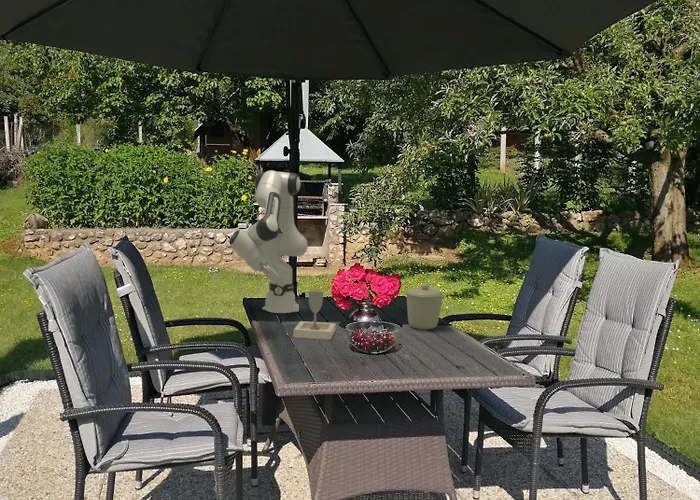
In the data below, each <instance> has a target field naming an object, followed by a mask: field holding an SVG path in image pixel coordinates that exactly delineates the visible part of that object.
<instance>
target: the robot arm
mask: <svg viewBox="0 0 700 500" xmlns="http://www.w3.org/2000/svg"><path fill="white" fill-rule="evenodd" d="M254 187H255V193H254V198H255V199H254V200H255V202H256V203H257V205H258V206H259V207H261V208H262V209H264V215H263V216H262V217H261V218H260V219H259V220H258V221H257V222H255V223H254V224H252V225H251V226H249V227H247V228H244V229H241V230H240V229H238V230H236V231H235V232H234V233H233V234H232V235H231V237H230V238H229V240H228V241H229V242H228V244H229V246H230V247H231V249H232V250H233V251H234V253H235V254H236V255H237V256H238V257H239V258H240V259H241V260H242V259H243V260H244V261H245V263H246V264H247V266H249V267H250V268H251V269H252V270H253V272H256V273H257V272H259V273H263V274H264V276H266V277H267V278H268V279H269V280H270V281H269V285H268V290H269V291H268V292H267V293H266V294H265V305H264V306H262V307H261V308H262V310H264V311H266V312H270V313H275V314H287V313H288V314H289V313H297V312H300V305H299V303H297V301H296V295H295V292H294V283H293V267H292V266H291V265H290V264H289V263H287V262H285V261H284V260H283V257H282V256H284V257H299V256H304V255H305V253H307V251H308V248H309V247H308V245H309V244H308V240H307V238H306V237H305V236H304V235H302V234H301V233H300V232H299V230H298V228H297V226H296V224H295V218H294V217H295V216H294V195H295V196H296V195H297V193H299V191H300V189H301V179H300V176H299V175H298V174H297V173H294V172H284V171H276V170H272V169H271V170H267V171H262V172H259V173H257V175H256V176H255V179H254ZM280 231H281V232H282V233H280Z"/></svg>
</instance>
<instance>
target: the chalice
mask: <svg viewBox="0 0 700 500" xmlns="http://www.w3.org/2000/svg"><path fill="white" fill-rule="evenodd" d="M307 293H308V305H309V307H310V310H311V312H312V313H313V320H312V322H314V325H313V326H312V327H311V330H320V329H319V327H318V326H317V325H316V322H318V321H317V318H318V316H317V313H319V312H320V309H322V305H323V301H324V298H323V297H324V293H325V291H324V290H320V289H319V290H318V289H312V290H307Z"/></svg>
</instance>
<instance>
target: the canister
mask: <svg viewBox="0 0 700 500" xmlns="http://www.w3.org/2000/svg"><path fill="white" fill-rule="evenodd" d="M420 286H421V287H412V288H411V287H410V288H409V289H408V290H406V291H405V292H404V293H405V295H406V309H407V322H408V324H409V326H410V327H411V328H413V329H416V330H425V331H428V330H433V329H435V328H436V327H438V323H439V319H440V315H441V307H442V302H443V297H444V296H445V293H444V292H443V291H441V290H439V289H436V288H431V287H429V286H430V285H429V283H426V282H423V283H421V285H420Z"/></svg>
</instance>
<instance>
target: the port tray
mask: <svg viewBox="0 0 700 500" xmlns="http://www.w3.org/2000/svg"><path fill="white" fill-rule="evenodd" d="M336 324H337V323H334V322H318V321H317V322H316V325H317V326H318V327H319V329H320V330H311V327H312V326H313V325H314V322H313V321H305V320H304V321H303V320H301V321H299V322H298V323H297V325H296V326H295V327H294V329H293V338H295V339H296V338H297V339H309V340H310V339H311V340H325V341H326V340H327V341H328V340H329V341H330V340H331V339H332V338H333V336H334V334H335V333H336V326H337V325H336Z"/></svg>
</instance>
